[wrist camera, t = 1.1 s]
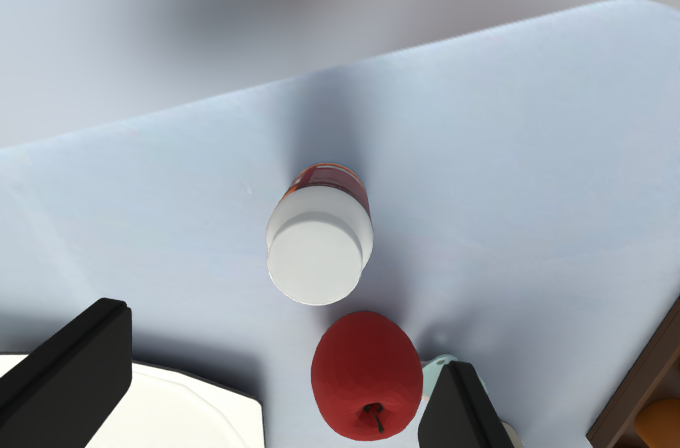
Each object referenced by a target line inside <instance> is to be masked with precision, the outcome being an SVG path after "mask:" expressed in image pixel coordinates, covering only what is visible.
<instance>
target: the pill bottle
mask: <svg viewBox="0 0 680 448" xmlns="http://www.w3.org/2000/svg"><path fill="white" fill-rule="evenodd" d="M266 241H267V247H268V256H267V265H268V271H269V274H270V277H271V279H272V281H273V282H274V284H275V285H276V287H277V288H278V289H279V290H280V291H281V292H282V293H283V294H285V295H286V296H287V297H289V298H290V299H292V300H294V301H297V302H300V303H303V304H307V305H326V304H331V303H334V302H336V301H339V300H341V299H342V298H344V297H346V296H347V295H348V294H349V293H350V292H351V291H352V290H353V289H354V288H355V286H356V285H357V283H358V281H359V279H360V276H361V273H362V269H363V268H364V267H365V265H366V264H367V262H368V260H369V258H370V255H371V252H372V248H373V227H372V222H371V216H370V210H369V204H368V198H367V194H366V190H365V188H364V185H363V183H362V182H361V180H360V179H359V177H358V176H357V175H356V174H355V173H354V172H353V171H351V170H350V169H348V168H347V167H345V166H342V165H339V164H336V163H319V164H315V165H312V166H310V167H308V168H306V169H305V170H304V171H302V172H301V173H300V174H299V175H298V176H297V177H296V178H295V180H294V181H293V183H292V184H291V186H290V187H289V189H288V190H287V192H286V193H285V195H284V196H283V198H282V199H281V200H280V202H279V203H278V205H277V206H276V208H275V209H274V211H273V213H272V214H271V216H270V219H269V222H268V225H267V231H266Z"/></svg>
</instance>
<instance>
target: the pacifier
mask: <svg viewBox="0 0 680 448" xmlns="http://www.w3.org/2000/svg"><path fill="white" fill-rule="evenodd" d="M451 360H455V361H458V359H457V358H456V357H455V356H453V355H451V354H444V355H440V356H438V357H436V358H434V359H432V360H431V361H421V366H422V371H423V376H424V378H423V394H422V399H424V400H425V401H428V402H429V399H430V397H431V394H432V392H433V389H434V387H435V384H436V382H437V379H438V377H439V374H440V372H441V369H442V367H443V365H444V364H448V363H449V362H450V361H451ZM477 375H478V374H477ZM478 377H479V379H480V381H481V383H482V385H483V387H484V389H485V391H486V393H487V395H488V390H487V387H486V384H485V383H484V381H483V380H482V378H481V377H480V376H479V375H478Z"/></svg>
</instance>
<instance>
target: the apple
mask: <svg viewBox="0 0 680 448" xmlns="http://www.w3.org/2000/svg"><path fill="white" fill-rule="evenodd" d="M423 378H424V376H423V371H422V366H421V362H420V359H419V357H418V354H417V352H416V350H415V348H414V346H413V344H412V342H411V340H410V339H409V337H408V336H407V335H406V333H405V332H404V331H403V330H402V329H401V328H400V327H398V326H397V325H396V324H395V323H394V322H392V321H391V320H389V319H388V318H386V317H384V316H382V315H380V314H378V313H374V312H369V311H361V312H355V313H350V314H348V315H346V316H343V317H341V318H340V319H339V320H337V321H336V322H335V323H334V324H333V325H332V326H331V327H330V328H329V329H328V330H327V331H326V332H325V333H324V335H323V336H322V338H321V340H320V342H319V344H318V346H317V348H316V351H315V354H314V357H313V361H312V366H311V384H312V389H313V393H314V397H315V400H316V402H317V405H318V408H319V411H320V413H321V415H322V417H323V418H324V420H325V421H326V422H327V424H328V425H329V426H330V427H331V428H332V429H333V430H334V431H335V432H337V433H338V434H340V435H341V436H344V437H347V438H350V439H353V440H357V441H375V440H381V439H386V438H389V437H391V436H393V435H395V434H398V433H400V432H401V431H402V430H404V429H405V428H406V427H407V425H408V424H409V423H410V422H411V420H412V419H413V418H414V416H415V414H416V412H417V409H418V407H419V404H420V401H421V398H422V394H423Z"/></svg>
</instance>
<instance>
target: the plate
mask: <svg viewBox="0 0 680 448" xmlns="http://www.w3.org/2000/svg"><path fill="white" fill-rule="evenodd" d="M31 353H32V352H0V377H2V376H3V375H4V374H5V373H7V372H8V371H9V370H10V369H12V368H13V367H14V366H15V365H17V364H18V363H19V362H20V361H22V360H23V359H24V358H26V357H27V356H28V355H29V354H31ZM85 448H266V444H265V431H264V417H263V404H262V401H261V400H260V399H259V398H258V397H256V396H253V395H250V394H248V393H245V392H242V391H239V390H236V389H233V388H230V387H228V386H225V385H222V384H219V383H217V382H214V381H211V380H208V379H206V378H203V377H200V376H197V375H195V374H192V373H189V372H186V371H183V370H180V369H175V368H170V367H166V366H161V365H156V364H151V363H146V362H142V361H137V360H132V382H131V385H130V387H129V389H128V391H127V393H126V394H125V395H124V397H123V398H122V399H121V401H120V402H119V403H118V405H117V406H116V407H115V409H114V410H113V411H112V413H111V414H110V415H109V416H108V418H107V419H106V420H105V422H104V423H103V424H102V426H101V427H100V428H99V430H98V431H97V432H96V434H95V435H94V436H93V438H92V439H91V440H90V442H89V443H88V444H87V446H86V447H85Z"/></svg>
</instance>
